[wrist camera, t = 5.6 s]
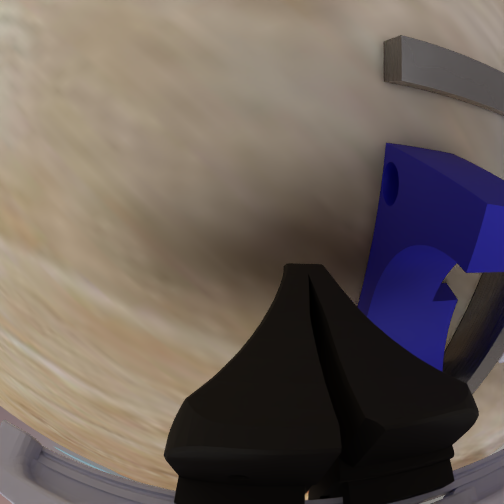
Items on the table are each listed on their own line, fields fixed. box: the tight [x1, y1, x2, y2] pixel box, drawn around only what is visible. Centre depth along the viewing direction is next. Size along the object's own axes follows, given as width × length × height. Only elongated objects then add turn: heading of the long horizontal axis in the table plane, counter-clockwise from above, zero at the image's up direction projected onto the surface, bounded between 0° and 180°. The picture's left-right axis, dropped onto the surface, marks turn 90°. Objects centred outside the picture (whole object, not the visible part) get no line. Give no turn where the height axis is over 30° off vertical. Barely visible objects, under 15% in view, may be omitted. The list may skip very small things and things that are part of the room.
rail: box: [384, 35, 504, 394], centre depth 10 cm, size 8×18×3 cm, turn 1°
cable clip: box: [358, 143, 504, 371], centre depth 9 cm, size 12×4×6 cm, turn 1°
